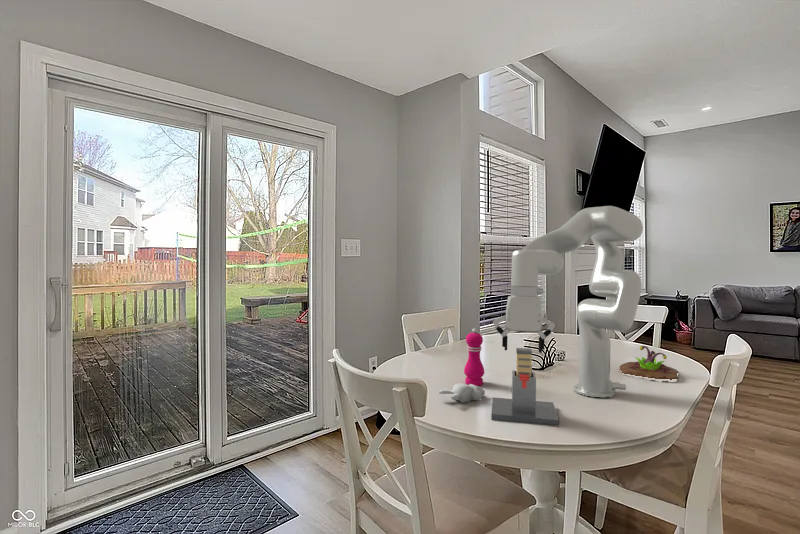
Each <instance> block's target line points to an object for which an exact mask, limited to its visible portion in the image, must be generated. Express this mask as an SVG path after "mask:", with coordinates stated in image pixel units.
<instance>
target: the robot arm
mask: <svg viewBox="0 0 800 534" xmlns="http://www.w3.org/2000/svg"><path fill="white" fill-rule="evenodd" d="M643 229H644V226H643V223H642V220H641V219H640V218H639V217H638V216H637V214H634V213H632V212H631V211H630V212H629V211H627V210H626V209H623V208H620V207H617V206H613V205H603V206H594V207H593V206H592V207H586V208H583V209H581V210H579V211H578V212H576V214H574V215H573V216H572V217H571V218H570V219H568V221H567V222H565V223H564V224H563V225H562V226H560V227H559V228H558V229H555V230H552V231H550V232H548V233H546V234H543V235H541V236H539V237H537V238H535V239H534V240H532V241H531V242H529V243H528V244H527V245H525V246H524V247H523V248H522V249H516V250H514V251H513V252H512V253H511V272H510V273H511V274H510V276H511V278H510V279H511V283H510V295H508V297H507V301H506V307H505V314H504V315H502V316H500V317H498V318H496V319H493V321H492V324H493V326H494V327H495V329H496V331H497V333H499V334H500V335H501V337H502V340H501V341H502V343H501V344H502V345H501V347H503V348H504V351H507V350H508V334H509V333H510V332H513V331H514V332H525V333H526V332H528V333H537V334H538V335H539V337H538V352H539V353H540V354H542V352H543V350H545V339H546V338H547V337H548V336H550V335H551V334H552V332H553V330H554V329H555V327H556V324H555V323H554V322H553V321H551V320H549V319H547V318H545V317H543V309H542V301H541V297H540V296H539V295H540V294H544V289H543V288H541V287H539V275H540V276H552V275H556V274H558V273H560V272H561V271H562V270H563V268H564V263H565V259H564V257H563V256H562V254H567V253H570V252H573V251H576V250H578V249H580V248H581V247H582V246H583V244H585V243H586V242H587V241H588V240H589V239H591V241H592V243H593V245H594V248H595V253H596V255H595V261H594V265H593V268H592V272H591V276H590V279H589V282H588V283H589V285H588V288H589V292H590V293H591V294H592V295H595V296H597V297H603V298H611V299H616V300H609V299H602V298H601V299H600V298H586V299H583V300H582V301H580V302H579V303H578V304H577V307H576V318H577V323H578V330H579V331H578V333H579V334H578V335H579V344H578V345H579V347H578V350H579V351H578V352H579V354H578V355H579V356H578V383H575V384H574V386H573V391H574V392H575V393H577V394H579V395H581V394H582V395H581V396H584V395H585V396H584V397H588V396H590V397H589V398H594V397H601V398H600V399H603V398H602V397H609V398H612V397H611V396H613V395H614V394H615V393H616V392H615V390H619V391H621V390H622V391H626V390H627V386H626V384H625V383H620V382H619V381H617V382H616V381H612V380H611V347H612V346H611V344H612V343H611V339H610V335H609V333H608V330H609V331H614V332H615V331H616V332H626V331H628V330H630V329H631V328H632V326H633V325H634V321H635V318H636V313H637V309H638V306H639V302H640V298H641V294H642V287H643V285H642V284H643V283H642V279H641V277H640V275H639V273H637V272H636V271H634V270H631V269H622V268H623V263H624V254H623V252H622V250H621V249H620V248H619V246H618V245H617V243H616V242H618V243H619V242H633V241H636V240H638V239H639V238H640V237H641V236H642V234H643V231H644V230H643ZM502 322H505V328H504V329H503V328H502V327H501V326H500V323H502ZM543 323H544V325H545V324H546V325H547V326H548V327H547V329H545V331H542V329H543V328H542V327H543ZM615 395H616V394H615ZM615 395H614V396H615ZM614 396H613V397H614Z"/></svg>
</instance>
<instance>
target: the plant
mask: <svg viewBox="0 0 800 534" xmlns="http://www.w3.org/2000/svg"><path fill="white" fill-rule="evenodd" d="M645 349H646V351H647V355H646V356H647V357H646V358H645V357H643V356H642V357H641V358H639V357H636V356H635V359H636V360H637V361H627V362H624V363H622V364H620V365H619V371H620V370H621V371H622V372H621V371H620V372H621V373H624V374H630V375H635V376H642V377H648V378H655V379H670V380H672V379H677V378H678V379H679V376H677V373H679V374H680V371H678V370H677V369H676V368H673V367H671V366H668V365H665V360H666V359H668V358H667V355H666V354H665V353H662V352H656V351H654V350H651V351H650V348H649V347H648V346H645V345H641V346H640V347H639V350H640V351H643V350H645ZM658 355H662V359H664V360H661V361H660V360H659V361H657V358H656V357H657V356H658Z"/></svg>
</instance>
